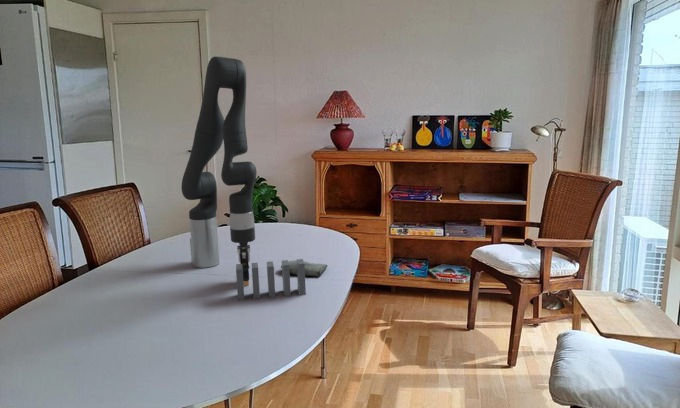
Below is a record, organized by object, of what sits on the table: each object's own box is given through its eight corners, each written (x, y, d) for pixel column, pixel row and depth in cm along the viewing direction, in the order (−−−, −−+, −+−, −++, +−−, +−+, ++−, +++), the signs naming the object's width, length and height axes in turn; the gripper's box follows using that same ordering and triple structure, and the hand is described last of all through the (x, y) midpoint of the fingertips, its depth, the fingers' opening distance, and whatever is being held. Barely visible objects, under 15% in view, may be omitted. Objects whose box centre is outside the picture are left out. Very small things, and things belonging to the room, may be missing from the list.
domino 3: (253, 299, 147) (251, 268, 145) (253, 293, 152) (251, 263, 150) (259, 298, 147) (258, 267, 145) (259, 292, 152) (257, 262, 150)
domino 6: (299, 294, 149) (298, 264, 148) (297, 289, 154) (296, 259, 152) (305, 294, 150) (304, 263, 148) (303, 288, 155) (302, 258, 153)
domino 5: (284, 296, 149) (283, 265, 147) (283, 290, 153) (281, 260, 152) (290, 295, 149) (289, 265, 147) (289, 290, 154) (287, 260, 152)
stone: (276, 274, 168) (318, 284, 164) (276, 264, 166) (319, 273, 163) (287, 261, 178) (328, 270, 174) (288, 251, 176) (329, 260, 173)
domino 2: (243, 286, 158) (241, 257, 156) (242, 281, 163) (241, 252, 161) (248, 285, 158) (247, 256, 156) (248, 280, 163) (246, 252, 161)
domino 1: (238, 300, 146) (235, 269, 144) (238, 294, 151) (236, 264, 149) (244, 300, 146) (242, 268, 145) (244, 294, 151) (242, 263, 149)
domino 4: (269, 297, 148) (267, 266, 146) (268, 291, 153) (266, 261, 151) (275, 297, 148) (273, 266, 146) (274, 291, 153) (272, 261, 151)
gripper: (255, 230, 151) (258, 284, 154) (253, 220, 165) (256, 269, 168) (229, 232, 149) (233, 286, 153) (230, 221, 163) (233, 271, 166)
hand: (245, 277), depth 160 cm, fingers closed on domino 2, 5 cm apart
